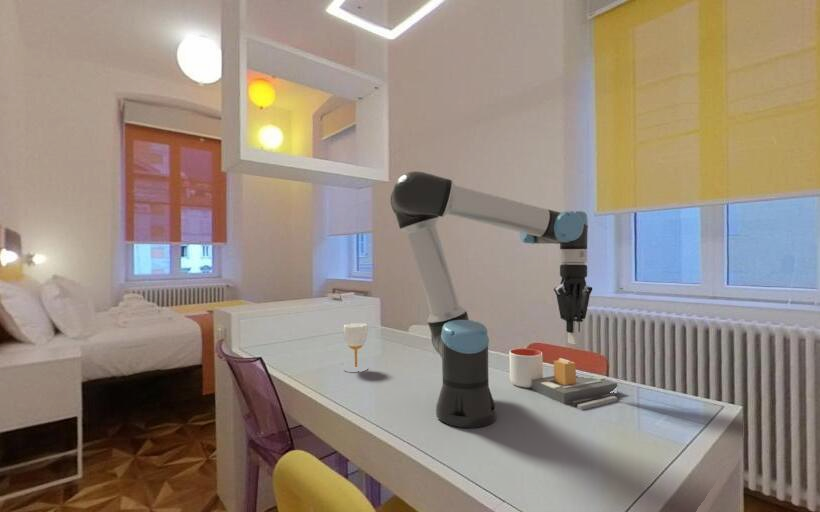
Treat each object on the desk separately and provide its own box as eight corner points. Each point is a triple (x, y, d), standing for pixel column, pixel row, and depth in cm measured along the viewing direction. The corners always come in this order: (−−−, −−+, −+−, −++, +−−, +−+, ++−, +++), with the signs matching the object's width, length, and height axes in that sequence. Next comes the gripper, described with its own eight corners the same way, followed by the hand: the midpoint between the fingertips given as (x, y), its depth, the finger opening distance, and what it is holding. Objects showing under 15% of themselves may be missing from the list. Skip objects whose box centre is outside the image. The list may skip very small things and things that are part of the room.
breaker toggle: (565, 385, 113) (564, 362, 113) (554, 381, 117) (553, 358, 117) (575, 383, 115) (575, 360, 115) (564, 379, 119) (564, 357, 119)
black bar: (574, 407, 105) (574, 402, 105) (570, 405, 107) (570, 401, 107) (618, 398, 112) (618, 393, 112) (613, 396, 113) (613, 392, 113)
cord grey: (581, 410, 104) (580, 406, 104) (577, 408, 105) (577, 404, 105) (617, 400, 110) (617, 397, 110) (613, 399, 111) (613, 395, 111)
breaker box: (564, 404, 108) (563, 392, 108) (532, 389, 120) (531, 378, 120) (617, 393, 115) (617, 382, 115) (582, 380, 127) (582, 370, 127)
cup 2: (371, 370, 142) (370, 326, 142) (346, 374, 138) (345, 328, 138) (364, 364, 150) (364, 322, 150) (341, 367, 147) (340, 324, 147)
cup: (544, 389, 119) (544, 356, 119) (510, 388, 121) (510, 355, 121) (540, 379, 129) (540, 348, 129) (509, 378, 131) (508, 347, 131)
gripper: (565, 264, 112) (565, 348, 112) (600, 264, 117) (599, 344, 117) (547, 263, 119) (546, 342, 119) (580, 263, 124) (579, 339, 124)
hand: (572, 343), depth 118 cm, fingers closed
